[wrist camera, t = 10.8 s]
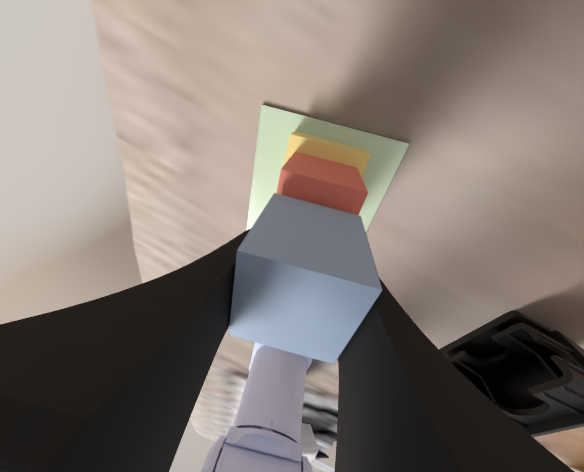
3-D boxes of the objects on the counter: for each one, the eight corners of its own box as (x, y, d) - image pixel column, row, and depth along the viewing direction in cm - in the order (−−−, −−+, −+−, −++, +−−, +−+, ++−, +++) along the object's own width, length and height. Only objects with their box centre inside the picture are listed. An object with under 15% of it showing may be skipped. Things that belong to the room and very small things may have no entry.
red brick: (327, 244, 16) (327, 286, 13) (278, 231, 16) (262, 268, 13) (357, 167, 13) (368, 192, 9) (294, 151, 13) (280, 169, 9)
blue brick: (332, 279, 12) (333, 364, 8) (261, 260, 12) (228, 335, 8) (361, 216, 9) (382, 289, 6) (274, 192, 9) (236, 250, 6)
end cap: (478, 375, 25) (521, 453, 20) (431, 352, 25) (462, 427, 19) (573, 336, 20) (669, 426, 15) (518, 305, 19) (597, 388, 14)
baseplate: (352, 258, 19) (352, 259, 19) (247, 229, 19) (246, 230, 19) (408, 143, 14) (409, 143, 14) (262, 104, 14) (261, 104, 14)
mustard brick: (329, 243, 19) (329, 257, 17) (274, 228, 19) (269, 240, 17) (366, 149, 14) (370, 155, 13) (294, 130, 14) (290, 133, 13)
